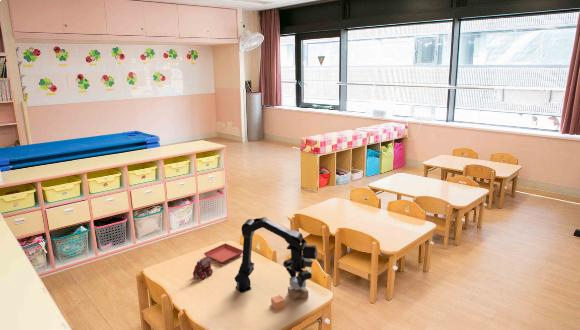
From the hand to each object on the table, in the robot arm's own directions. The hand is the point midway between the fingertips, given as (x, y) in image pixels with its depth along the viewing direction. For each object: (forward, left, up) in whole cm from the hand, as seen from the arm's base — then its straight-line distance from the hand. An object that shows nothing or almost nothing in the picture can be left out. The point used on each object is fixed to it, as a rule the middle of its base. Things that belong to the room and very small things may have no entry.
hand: (297, 284), depth 211 cm
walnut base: (0, 0, -7) cm, 7 cm away
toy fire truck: (-35, +47, -7) cm, 59 cm away
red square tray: (-16, +62, -7) cm, 64 cm away
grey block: (0, 0, -1) cm, 1 cm away
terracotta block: (-13, -2, -7) cm, 15 cm away
